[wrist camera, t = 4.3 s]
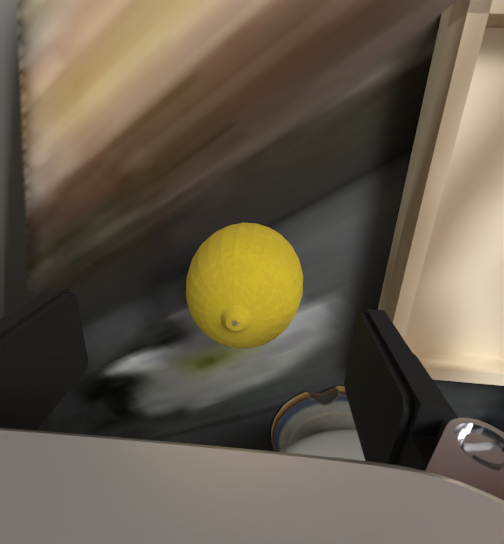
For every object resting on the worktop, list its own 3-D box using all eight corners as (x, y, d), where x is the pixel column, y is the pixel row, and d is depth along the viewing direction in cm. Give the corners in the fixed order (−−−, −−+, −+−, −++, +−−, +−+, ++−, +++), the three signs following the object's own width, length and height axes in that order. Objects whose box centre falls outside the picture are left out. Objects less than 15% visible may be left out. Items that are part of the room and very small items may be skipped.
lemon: (317, 253, 19) (342, 323, 11) (255, 312, 20) (241, 406, 13) (248, 188, 18) (225, 219, 10) (189, 256, 19) (133, 324, 12)
